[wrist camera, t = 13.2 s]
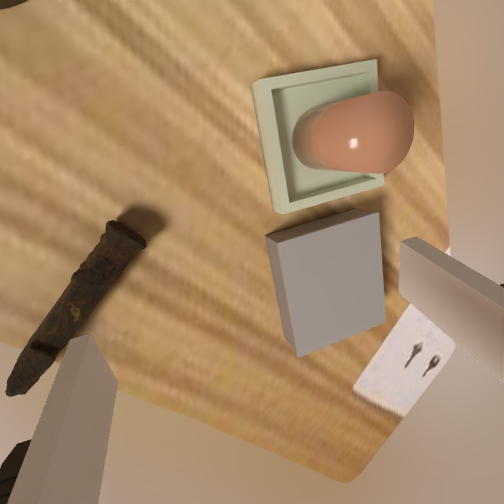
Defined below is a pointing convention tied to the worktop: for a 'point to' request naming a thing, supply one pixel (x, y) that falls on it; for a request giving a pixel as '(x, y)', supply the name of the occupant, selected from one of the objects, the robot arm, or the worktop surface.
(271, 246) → the grey square plinth
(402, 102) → the terracotta domed cylinder
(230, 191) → the worktop surface
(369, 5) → the worktop surface
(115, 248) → the hand tool
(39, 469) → the robot arm
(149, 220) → the worktop surface
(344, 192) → the tray
